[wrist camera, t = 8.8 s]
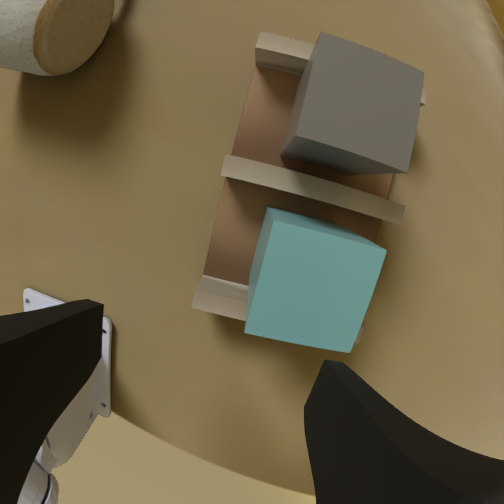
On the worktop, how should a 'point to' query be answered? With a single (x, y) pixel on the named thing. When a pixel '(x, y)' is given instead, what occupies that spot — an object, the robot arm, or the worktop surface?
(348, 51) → the grey plug
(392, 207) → the brown tray
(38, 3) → the ceramic mug
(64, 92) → the worktop surface
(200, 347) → the worktop surface
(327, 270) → the teal plug
